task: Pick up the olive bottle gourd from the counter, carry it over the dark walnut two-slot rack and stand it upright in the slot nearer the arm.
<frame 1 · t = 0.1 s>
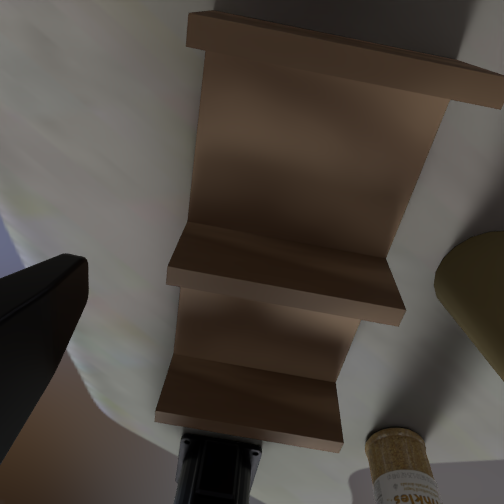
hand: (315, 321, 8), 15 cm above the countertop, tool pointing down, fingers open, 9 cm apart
rack: (285, 239, 24), on the countertop
olive bottle gourd: (486, 274, 24), on the countertop
sprinkles bottle: (392, 441, 33), on the countertop
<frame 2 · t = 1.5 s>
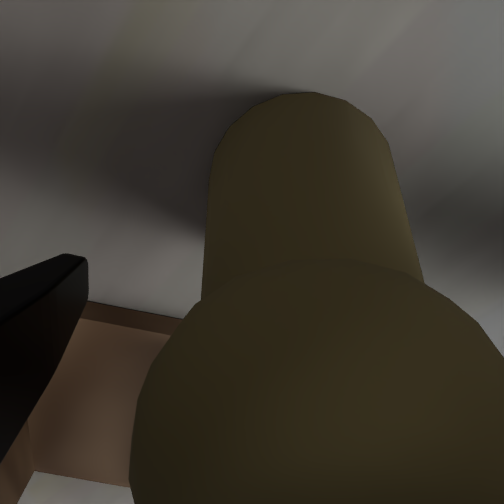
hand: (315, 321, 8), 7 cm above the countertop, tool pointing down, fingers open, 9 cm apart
rack: (236, 419, 20), on the countertop
olive bottle gourd: (300, 186, 14), on the countertop
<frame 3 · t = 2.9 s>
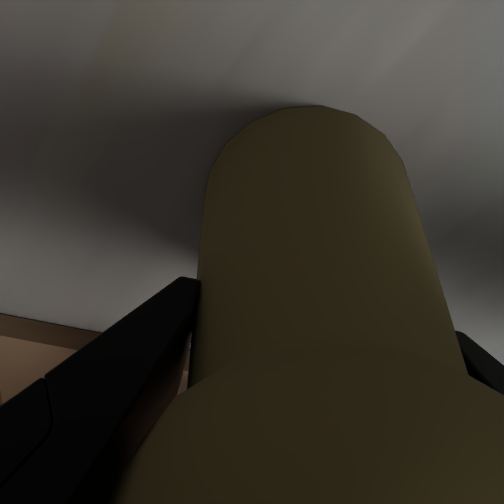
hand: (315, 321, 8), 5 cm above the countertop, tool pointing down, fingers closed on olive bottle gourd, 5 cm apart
rack: (235, 450, 19), on the countertop
olive bottle gourd: (304, 208, 13), on the countertop, touching gripper
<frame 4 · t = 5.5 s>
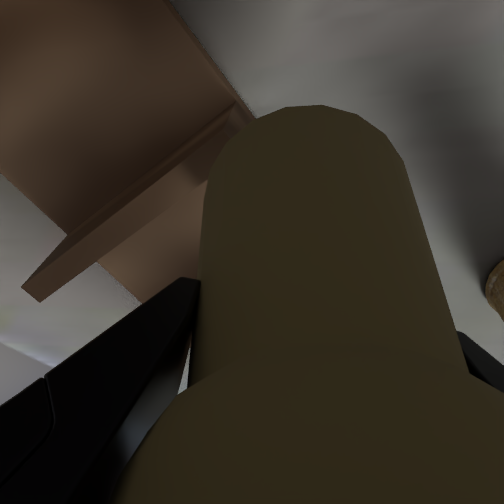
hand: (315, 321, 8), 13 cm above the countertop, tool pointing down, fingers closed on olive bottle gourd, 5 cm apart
rack: (156, 174, 20), on the countertop
olive bottle gourd: (304, 207, 13), point 7 cm above the countertop, touching gripper
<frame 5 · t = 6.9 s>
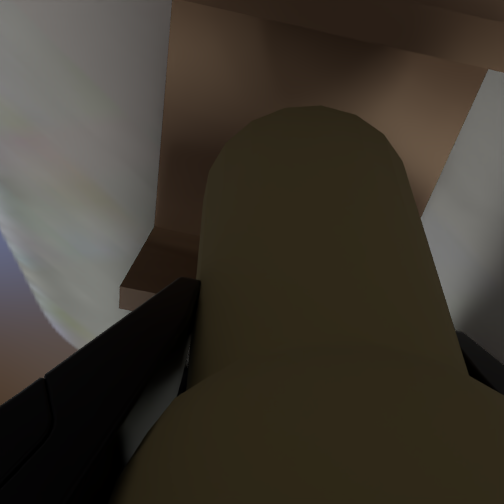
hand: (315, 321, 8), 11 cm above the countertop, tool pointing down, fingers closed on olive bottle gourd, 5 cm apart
rack: (335, 10, 15), on the countertop
olive bottle gourd: (304, 207, 13), point 6 cm above the countertop, touching gripper
when the fingers open (8 cm above the countertop, at t = 8.2 s): olive bottle gourd drops 2 cm, resting on rack.
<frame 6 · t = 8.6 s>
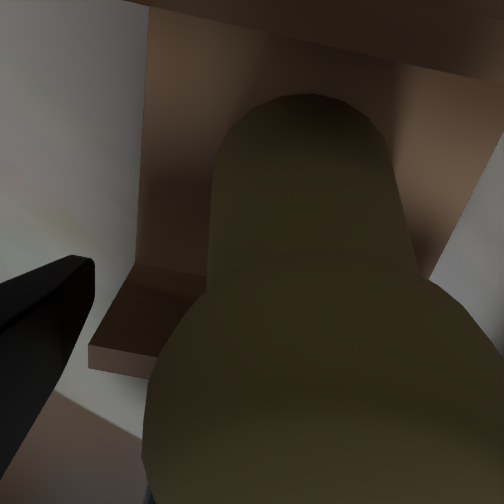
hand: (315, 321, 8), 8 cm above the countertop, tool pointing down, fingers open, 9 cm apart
rack: (344, 17, 12), on the countertop
olive bottle gourd: (300, 185, 14), point 1 cm above the countertop, touching rack
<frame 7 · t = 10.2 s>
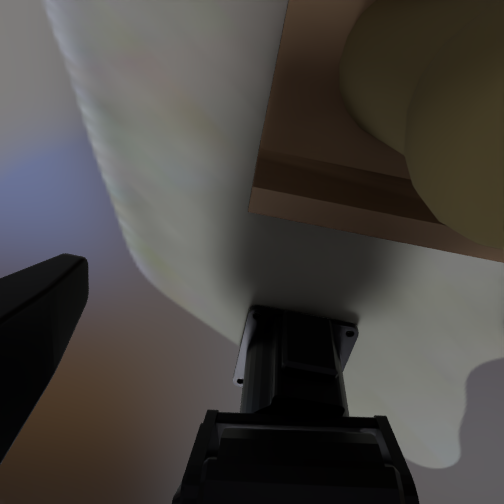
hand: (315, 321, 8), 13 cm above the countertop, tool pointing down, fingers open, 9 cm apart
olive bottle gourd: (414, 67, 17), point 1 cm above the countertop, touching rack
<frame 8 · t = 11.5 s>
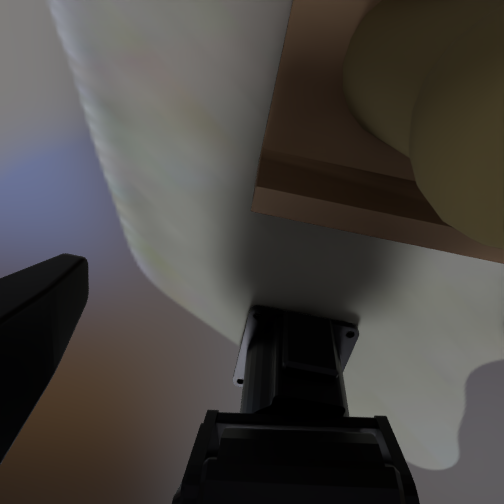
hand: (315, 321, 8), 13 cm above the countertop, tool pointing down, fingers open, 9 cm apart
olive bottle gourd: (417, 69, 17), point 1 cm above the countertop, touching rack
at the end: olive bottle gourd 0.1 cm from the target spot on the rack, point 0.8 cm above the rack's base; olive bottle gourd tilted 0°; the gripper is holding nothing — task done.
